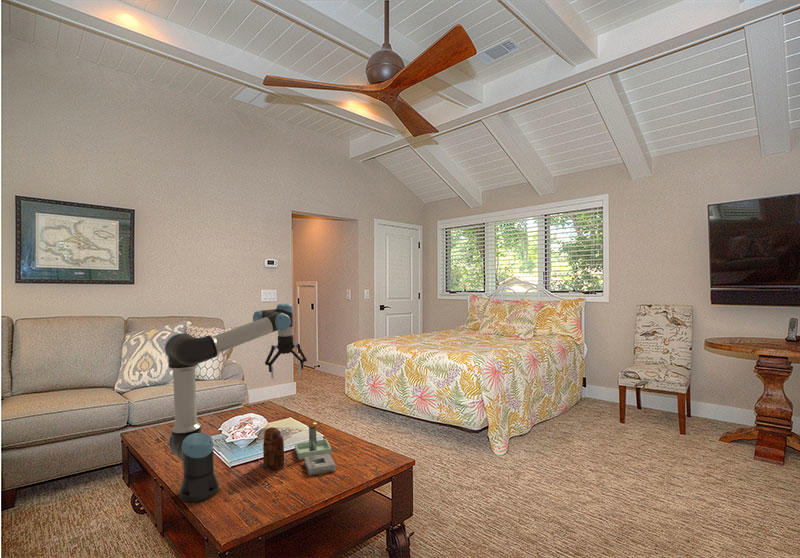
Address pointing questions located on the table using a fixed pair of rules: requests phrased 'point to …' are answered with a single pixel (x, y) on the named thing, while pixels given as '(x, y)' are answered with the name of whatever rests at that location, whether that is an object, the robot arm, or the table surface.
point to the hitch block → (319, 464)
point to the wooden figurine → (273, 449)
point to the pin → (312, 435)
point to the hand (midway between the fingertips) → (286, 376)
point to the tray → (303, 451)
